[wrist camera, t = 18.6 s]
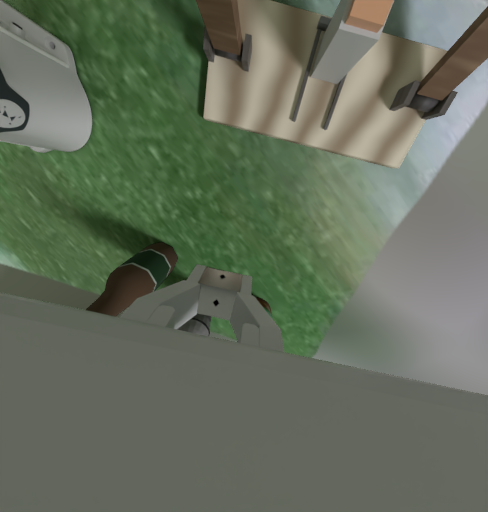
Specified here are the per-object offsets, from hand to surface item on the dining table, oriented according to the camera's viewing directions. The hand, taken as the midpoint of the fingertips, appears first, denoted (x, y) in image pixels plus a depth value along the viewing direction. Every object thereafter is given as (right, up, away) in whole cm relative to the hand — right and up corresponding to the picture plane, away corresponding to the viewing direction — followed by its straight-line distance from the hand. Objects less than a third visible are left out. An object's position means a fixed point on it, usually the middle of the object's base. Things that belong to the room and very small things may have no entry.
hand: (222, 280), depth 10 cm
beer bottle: (-19, +1, +34) cm, 38 cm away
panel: (+13, +27, +18) cm, 35 cm away
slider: (+13, +29, +15) cm, 35 cm away
